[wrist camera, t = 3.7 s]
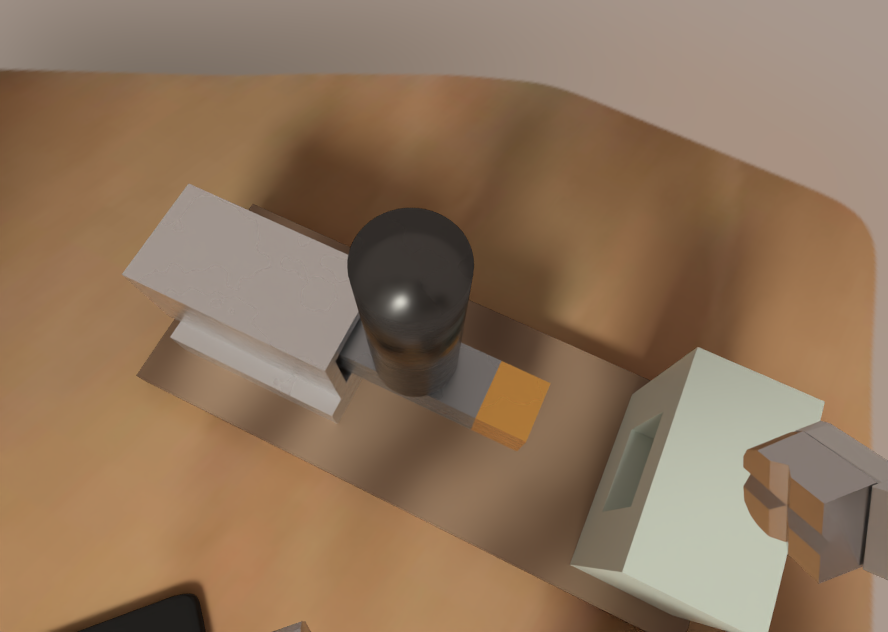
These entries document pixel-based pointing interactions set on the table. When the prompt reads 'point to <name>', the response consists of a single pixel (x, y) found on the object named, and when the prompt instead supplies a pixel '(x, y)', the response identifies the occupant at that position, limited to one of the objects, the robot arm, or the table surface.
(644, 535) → the socket
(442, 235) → the slide bolt
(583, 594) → the base board
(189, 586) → the table surface
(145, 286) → the sleeve
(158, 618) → the cell phone
